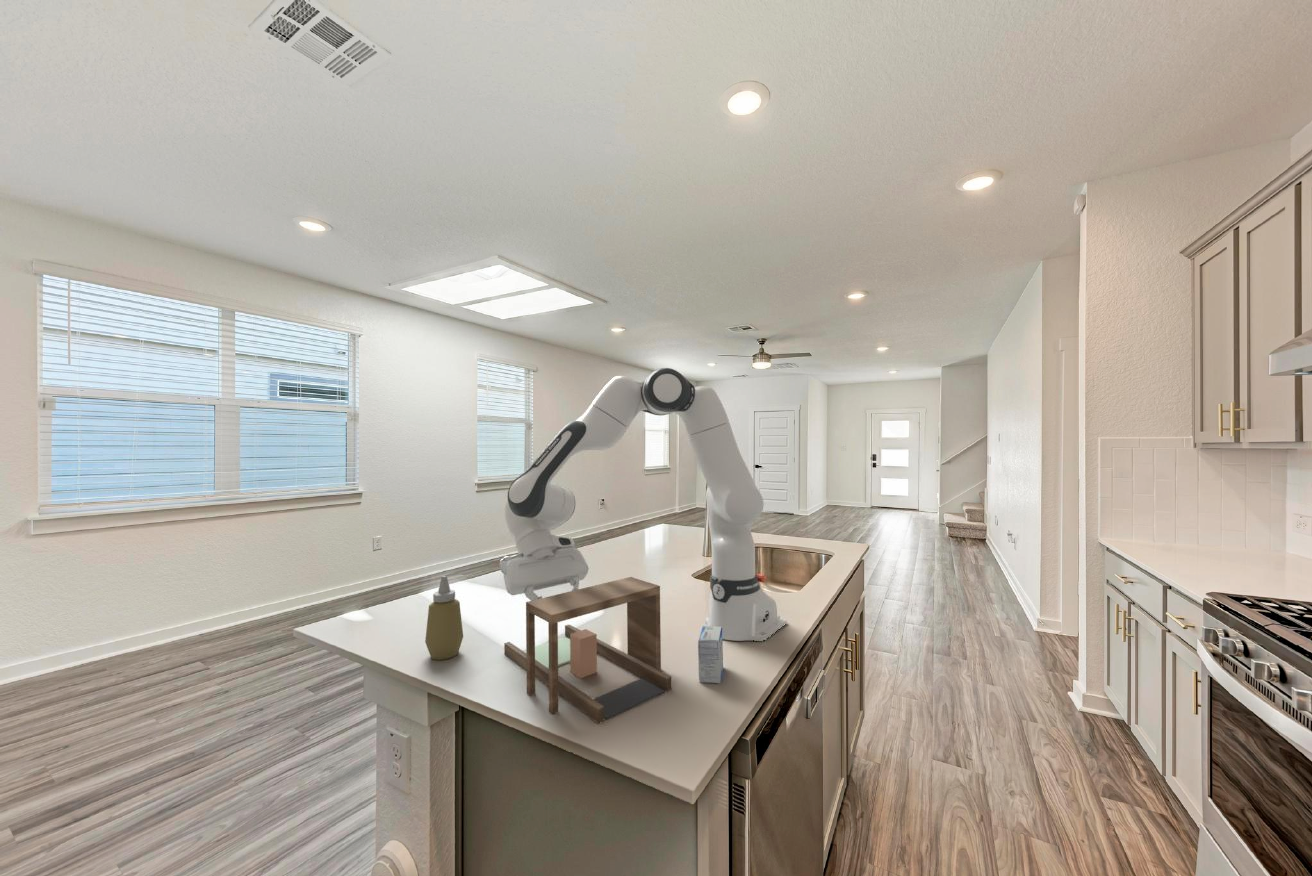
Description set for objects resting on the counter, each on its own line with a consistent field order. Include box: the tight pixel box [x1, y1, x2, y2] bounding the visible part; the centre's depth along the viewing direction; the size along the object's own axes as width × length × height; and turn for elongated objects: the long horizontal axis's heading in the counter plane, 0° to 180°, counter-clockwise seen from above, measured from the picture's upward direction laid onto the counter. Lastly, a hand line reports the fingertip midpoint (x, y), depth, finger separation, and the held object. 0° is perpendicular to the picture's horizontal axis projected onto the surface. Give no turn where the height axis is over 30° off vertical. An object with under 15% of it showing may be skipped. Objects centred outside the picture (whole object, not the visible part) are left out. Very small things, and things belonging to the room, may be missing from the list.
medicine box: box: [697, 625, 724, 684], centre depth 101 cm, size 8×4×9 cm, turn 168°
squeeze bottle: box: [424, 575, 464, 661], centre depth 112 cm, size 8×8×18 cm
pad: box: [522, 636, 570, 668], centre depth 112 cm, size 13×12×1 cm
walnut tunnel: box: [503, 576, 672, 724], centre depth 103 cm, size 26×38×18 cm
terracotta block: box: [569, 628, 598, 679], centre depth 103 cm, size 4×4×8 cm
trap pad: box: [593, 677, 666, 721], centre depth 92 cm, size 14×7×1 cm, turn 131°
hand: (559, 601), depth 110 cm, fingers open, 8 cm apart
